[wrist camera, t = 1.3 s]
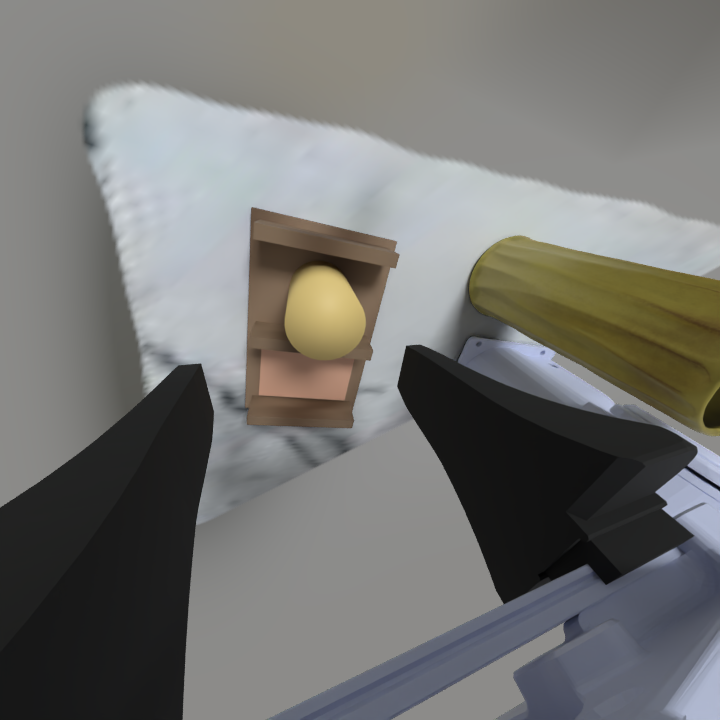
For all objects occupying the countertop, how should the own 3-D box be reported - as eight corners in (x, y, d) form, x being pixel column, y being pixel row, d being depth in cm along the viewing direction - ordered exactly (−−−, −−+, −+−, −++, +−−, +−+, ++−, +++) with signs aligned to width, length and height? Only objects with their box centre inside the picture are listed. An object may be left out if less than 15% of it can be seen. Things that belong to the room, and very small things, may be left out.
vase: (506, 325, 23) (724, 457, 11) (452, 299, 21) (652, 428, 9) (556, 257, 21) (898, 332, 9) (501, 219, 19) (857, 253, 7)
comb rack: (394, 240, 18) (409, 247, 16) (350, 409, 25) (356, 432, 22) (252, 207, 16) (243, 208, 13) (246, 403, 23) (239, 429, 20)
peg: (353, 266, 18) (374, 292, 13) (342, 322, 20) (356, 363, 15) (292, 254, 17) (288, 277, 12) (286, 314, 19) (280, 356, 14)
